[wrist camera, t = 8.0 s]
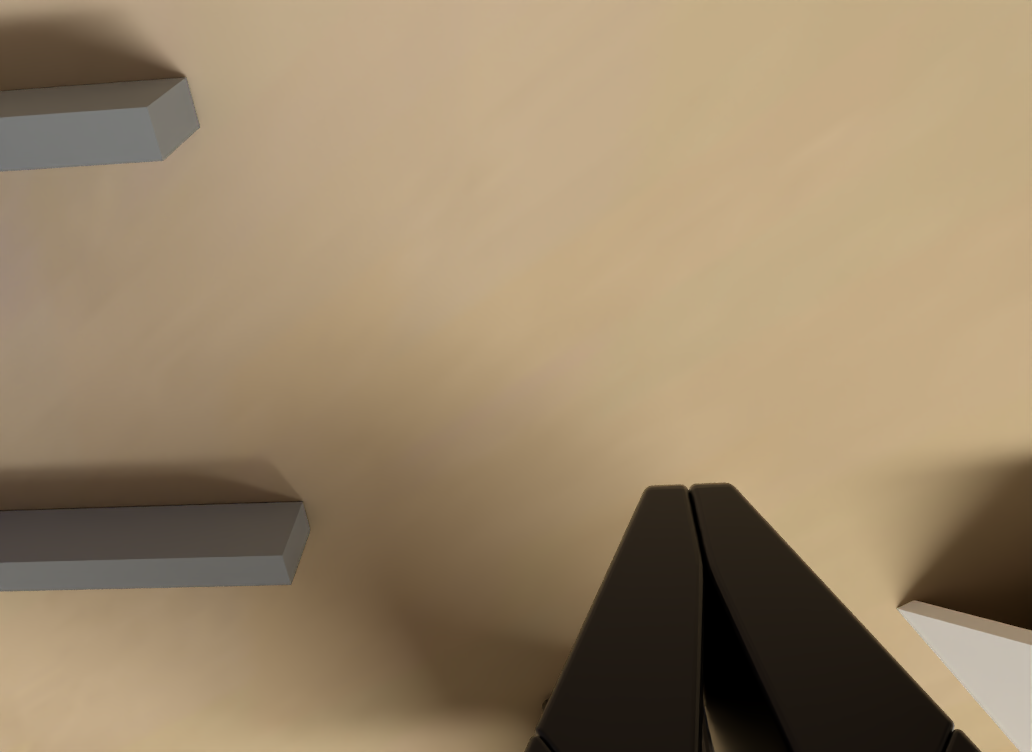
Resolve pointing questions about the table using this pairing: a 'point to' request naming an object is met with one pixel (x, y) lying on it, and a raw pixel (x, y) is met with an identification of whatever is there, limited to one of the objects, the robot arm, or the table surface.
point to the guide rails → (130, 530)
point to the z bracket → (983, 663)
